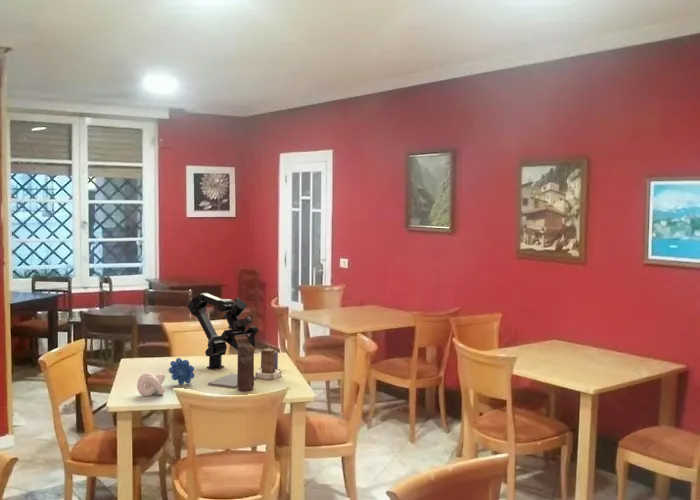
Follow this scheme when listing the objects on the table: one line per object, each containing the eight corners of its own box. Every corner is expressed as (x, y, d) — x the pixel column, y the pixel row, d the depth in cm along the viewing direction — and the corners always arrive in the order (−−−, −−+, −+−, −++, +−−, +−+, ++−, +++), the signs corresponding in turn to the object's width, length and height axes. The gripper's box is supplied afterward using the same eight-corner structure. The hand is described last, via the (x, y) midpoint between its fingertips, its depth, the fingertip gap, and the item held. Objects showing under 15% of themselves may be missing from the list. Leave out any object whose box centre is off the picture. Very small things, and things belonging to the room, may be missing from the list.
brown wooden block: (265, 375, 334) (266, 348, 334) (275, 376, 332) (275, 349, 332) (261, 377, 331) (261, 350, 330) (270, 378, 329) (271, 351, 328)
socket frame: (264, 373, 337) (264, 368, 337) (281, 375, 334) (281, 370, 333) (255, 377, 329) (255, 372, 329) (272, 379, 326) (272, 374, 326)
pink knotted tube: (149, 389, 306) (149, 369, 305) (173, 392, 302) (173, 371, 302) (133, 396, 295) (133, 375, 294) (158, 398, 291) (158, 377, 291)
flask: (278, 368, 348) (278, 347, 347) (275, 370, 345) (275, 348, 345) (262, 367, 351) (262, 346, 351) (259, 368, 349) (259, 347, 348)
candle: (237, 386, 312) (238, 342, 311) (254, 386, 313) (254, 342, 312) (236, 391, 305) (236, 346, 303) (253, 391, 305) (253, 346, 304)
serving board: (232, 375, 333) (232, 373, 333) (257, 378, 328) (257, 376, 328) (208, 384, 315) (208, 382, 315) (234, 388, 310) (234, 386, 310)
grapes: (166, 386, 311) (166, 360, 310) (169, 382, 317) (169, 356, 317) (193, 386, 312) (193, 360, 311) (195, 382, 318) (195, 356, 318)
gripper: (224, 313, 326) (237, 341, 319) (257, 310, 339) (269, 336, 331) (214, 327, 332) (227, 354, 325) (247, 323, 345) (259, 349, 338)
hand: (246, 348), depth 330 cm, fingers open, 9 cm apart
